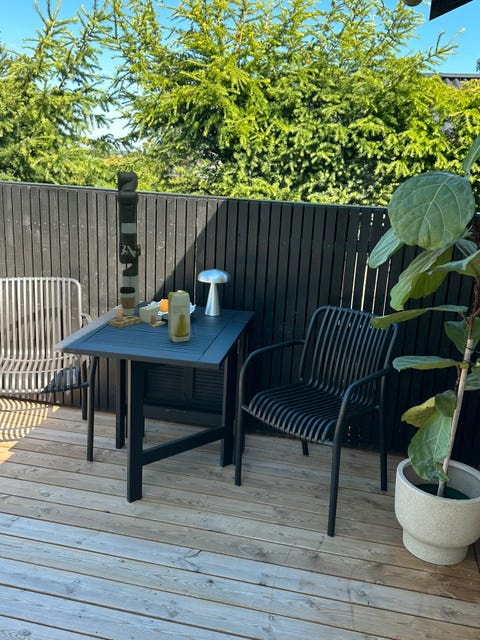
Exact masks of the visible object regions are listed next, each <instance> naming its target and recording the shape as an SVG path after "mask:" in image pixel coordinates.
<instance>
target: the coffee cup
mask: <svg viewBox="0 0 480 640" xmlns="http://www.w3.org/2000/svg"><path fill="white" fill-rule="evenodd" d="M119 293H120V302H121V310H122V316H130V315H131V316H134V314H135V306H134V303H135V288H134V287H123V286H120V288H119Z"/></svg>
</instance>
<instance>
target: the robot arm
mask: <svg viewBox="0 0 480 640" xmlns="http://www.w3.org/2000/svg"><path fill="white" fill-rule="evenodd" d="M116 179H117V180H116V181H117V196H116V201H117V203H118V231H119V232H118V234H119V235H118V237H119V242H118V258H119V263H120V264H121V265H128V264H129V265H130V266H129V267H127V268H125V269H123V270H122V273H121V277H122V278H121V279H122V287H134V288H135V303H134V307H135V306H139V305H140V284H139V283H140V282H139V281H140V280H139V278H140V277H139V275H140V274H139V268H140V267H139V257H140V256H142V251H141V244H140V243H139V244H137V243H136V242H137V241H138V234H137V221H136V220H137V218H136V217H137V208H138V203H139V199H140V197H139V194H138V193H137V192H136V191H137V188H138V187H139V186H138V184H139V177H138V174H137V173H136V172H134V171H132V172H131V171H118V173H117V176H116ZM138 304H139V305H138Z"/></svg>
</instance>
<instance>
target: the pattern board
mask: <svg viewBox="0 0 480 640" xmlns="http://www.w3.org/2000/svg"><path fill="white" fill-rule="evenodd" d="M165 324H166V322H165V321H162V320H157V321H156V316H155V315H151V322H149V323H148V326H150V327H153V328H155V327H159V326H162V325H165Z"/></svg>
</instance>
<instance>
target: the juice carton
mask: <svg viewBox="0 0 480 640" xmlns="http://www.w3.org/2000/svg"><path fill="white" fill-rule="evenodd" d="M190 301H191V299H190V294H189V293H188V292H187V291H184V290H177V291H175V292H172V291H170V292H169V293H168V297H167V316H168V317H167V321H168V322H167V323H168V325H167V326H168V327H167V328H168V336H169V340H171V341H172V342H173V343H180V342H188V341H190V337H191V302H190Z"/></svg>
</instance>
